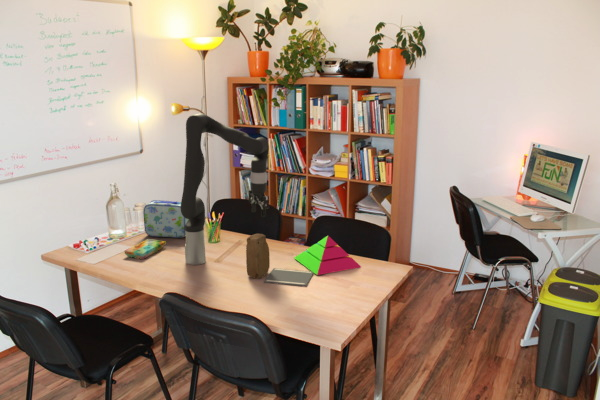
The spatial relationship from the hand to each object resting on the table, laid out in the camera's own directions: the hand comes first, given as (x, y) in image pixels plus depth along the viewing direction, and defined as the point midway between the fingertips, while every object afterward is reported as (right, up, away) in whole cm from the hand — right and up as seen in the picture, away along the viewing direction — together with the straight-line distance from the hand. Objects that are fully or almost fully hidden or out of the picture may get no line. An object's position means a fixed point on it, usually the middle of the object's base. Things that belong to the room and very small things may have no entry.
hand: (258, 214), depth 251 cm
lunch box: (-57, -14, +59) cm, 83 cm away
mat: (+14, -30, -1) cm, 33 cm away
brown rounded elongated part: (0, -29, +2) cm, 29 cm away
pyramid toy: (+33, -25, +16) cm, 45 cm away
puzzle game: (-63, -22, +33) cm, 74 cm away
